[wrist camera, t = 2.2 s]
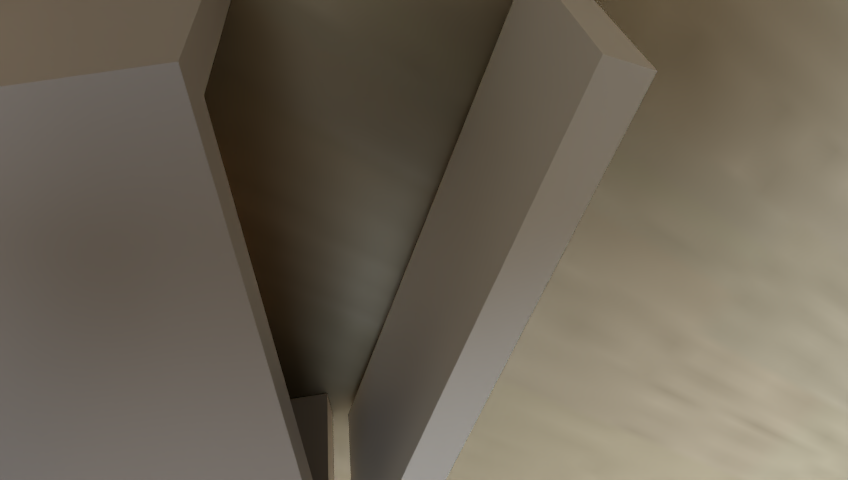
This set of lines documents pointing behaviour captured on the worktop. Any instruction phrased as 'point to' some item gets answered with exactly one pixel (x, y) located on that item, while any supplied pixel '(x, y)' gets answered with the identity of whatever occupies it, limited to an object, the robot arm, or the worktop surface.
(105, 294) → the box
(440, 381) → the camera door
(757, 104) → the worktop surface
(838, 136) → the worktop surface
